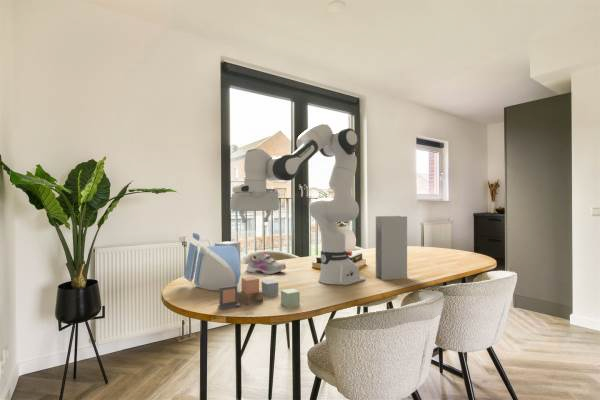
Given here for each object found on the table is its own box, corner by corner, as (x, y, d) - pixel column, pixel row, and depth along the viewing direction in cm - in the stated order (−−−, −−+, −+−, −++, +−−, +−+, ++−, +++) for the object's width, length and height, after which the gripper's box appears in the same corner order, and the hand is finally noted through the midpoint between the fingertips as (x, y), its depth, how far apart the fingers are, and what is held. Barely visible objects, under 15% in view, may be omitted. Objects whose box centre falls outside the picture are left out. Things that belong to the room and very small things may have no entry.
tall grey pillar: (400, 275, 170) (400, 215, 169) (407, 277, 164) (407, 216, 164) (375, 277, 165) (375, 216, 165) (381, 280, 160) (381, 216, 160)
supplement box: (241, 275, 170) (241, 242, 170) (228, 279, 162) (228, 244, 162) (227, 273, 175) (227, 240, 175) (214, 276, 168) (214, 242, 167)
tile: (236, 304, 123) (236, 284, 123) (239, 306, 121) (239, 286, 121) (218, 307, 119) (218, 287, 119) (220, 310, 117) (220, 289, 117)
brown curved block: (252, 298, 132) (252, 288, 132) (263, 302, 127) (263, 291, 127) (237, 302, 127) (237, 291, 127) (248, 306, 122) (248, 295, 122)
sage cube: (292, 301, 127) (292, 288, 127) (299, 305, 122) (299, 291, 122) (280, 304, 124) (280, 290, 124) (287, 307, 120) (287, 293, 120)
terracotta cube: (253, 289, 130) (253, 276, 130) (259, 292, 126) (259, 278, 126) (241, 291, 127) (241, 277, 127) (246, 294, 123) (246, 280, 123)
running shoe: (282, 275, 171) (282, 256, 171) (242, 272, 177) (242, 254, 177) (288, 271, 179) (288, 253, 179) (249, 269, 186) (249, 251, 186)
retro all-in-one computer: (191, 230, 147) (223, 227, 159) (183, 278, 151) (215, 272, 164) (226, 252, 131) (258, 247, 144) (216, 306, 136) (248, 296, 148)
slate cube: (272, 291, 140) (272, 279, 140) (278, 294, 136) (278, 282, 136) (261, 293, 138) (261, 281, 137) (267, 296, 133) (267, 284, 133)
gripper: (274, 188, 145) (274, 220, 145) (228, 187, 134) (228, 222, 134) (281, 188, 139) (281, 221, 139) (234, 187, 128) (234, 223, 128)
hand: (255, 222), depth 136 cm, fingers open, 8 cm apart
